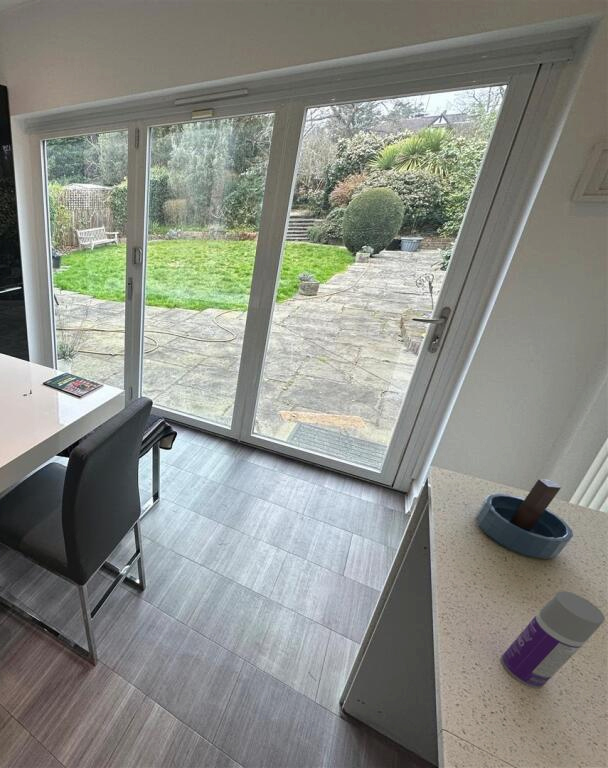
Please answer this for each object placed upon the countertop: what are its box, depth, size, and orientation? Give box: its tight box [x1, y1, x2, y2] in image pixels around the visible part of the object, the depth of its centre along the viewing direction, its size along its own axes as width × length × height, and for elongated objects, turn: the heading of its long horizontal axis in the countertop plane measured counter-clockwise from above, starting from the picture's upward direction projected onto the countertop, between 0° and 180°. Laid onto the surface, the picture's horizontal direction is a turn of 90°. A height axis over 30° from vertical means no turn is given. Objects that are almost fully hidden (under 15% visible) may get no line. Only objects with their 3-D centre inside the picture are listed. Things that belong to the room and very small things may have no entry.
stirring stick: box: [510, 478, 562, 532], centre depth 80 cm, size 2×2×13 cm
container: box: [500, 590, 606, 689], centre depth 57 cm, size 5×5×15 cm
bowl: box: [475, 492, 574, 560], centre depth 82 cm, size 13×13×6 cm
